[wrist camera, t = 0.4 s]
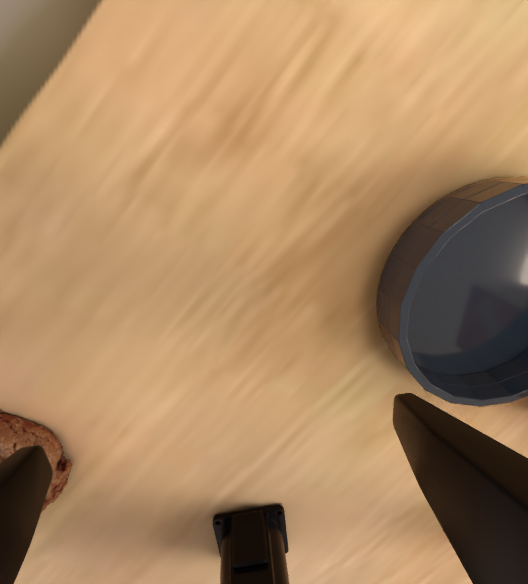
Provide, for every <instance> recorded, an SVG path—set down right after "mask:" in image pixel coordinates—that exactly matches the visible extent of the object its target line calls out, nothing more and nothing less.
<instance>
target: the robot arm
mask: <svg viewBox="0 0 528 584" xmlns="http://www.w3.org/2000/svg"><path fill="white" fill-rule="evenodd" d="M393 425H394V428H395V431H396V433H397V435H398V438H399V440H400V442H401V445H402V447H403V449H404V452H405V454H406V456H407V459H408V461H409V463H410V466H411V468H412V470H413V473H414V475H415V477H416V480H417V482H418V484H419V486H420V488H421V490H422V492H423V494H424V496H425V498H426V499H427V501H428V503H429V505H430V507H431V508H432V510H433V512H434V514H435V516H436V517H437V519H438V521H439V523H440V525H441V527H442V528H443V530H444V532H445V534H446V536H447V537H448V539H449V541H450V543H451V545H452V547H453V548H454V550H455V552H456V554H457V556H458V557H459V559H460V561H461V563H462V565H463V566H464V568H465V570H466V572H467V574H468V576H469V577H470V579H471V581H472V583H473V584H528V458H526V457H524V456H522V455H521V454H519V453H517V452H515V451H514V450H512V449H510V448H508V447H506V446H505V445H503V444H501V443H499V442H498V441H496V440H494V439H492V438H491V437H489V436H487V435H485V434H483V433H482V432H480V431H478V430H476V429H475V428H473V427H471V426H469V425H467V424H466V423H464V422H462V421H460V420H459V419H457V418H455V417H453V416H451V415H450V414H448V413H446V412H444V411H443V410H441V409H439V408H437V407H435V406H434V405H432V404H430V403H428V402H427V401H425V400H423V399H421V398H419V397H418V396H416V395H414V394H412V393H405V394H398V395H396V396H395V398H394V408H393ZM52 476H53V469H52V466H51V464H50V462H49V459H48V457H47V455H46V453H45V450H44V448H43V447H42V446H41V445H32V446H25V447H22V448H20V449H18V450H17V451H16V452H14V453H13V454H11V455H10V456H9V457H7V458H6V459H5V460H3V461H2V462H1V463H0V584H14V582H15V579H16V577H17V575H18V572H19V570H20V568H21V565H22V563H23V561H24V558H25V556H26V553H27V551H28V549H29V546H30V543H31V540H32V538H33V535H34V532H35V529H36V526H37V523H38V520H39V517H40V514H41V511H42V508H43V505H44V502H45V499H46V496H47V493H48V490H49V487H50V484H51V481H52ZM213 527H214V531H215V536H216V540H217V544H218V548H219V553H220V557H221V572H220V584H289V578H288V571H287V563H286V556H285V554H286V553H287V552H288V542H287V533H286V523H285V514H284V508H283V506H281V505H276V506H270V507H263V508H257V509H251V510H245V511H238V512H232V513H226V514H219V515H215V516H214V517H213Z"/></svg>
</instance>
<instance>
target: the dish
mask: <svg viewBox="0 0 528 584" xmlns="http://www.w3.org/2000/svg"><path fill="white" fill-rule="evenodd" d="M377 316H378V322H379V327H380V329H381V332H382V335H383V337H384V339H385V341H386V343H387V345H388V347H389V349H390V350H391V351H392V352H393V353H394V355H395V356H396V357H397V358H398V359H399V361H400V362H401V363H402V364H403V365H404V367H405V368H406V369H407V370H408V371H409V372H410V374H411V375H412V376H413V377H414V378H415V379H416V380H417V382H418V383H419V384H420V385H421V386H422V387H423V389H424V390H426V391H428V392H430V393H432V394H434V395H436V396H438V397H440V398H442V399H444V400H446V401H448V402H450V403H455V404H463V405H471V406H479V407H480V406H488V405H495V404H501V403H508V402H512V401H516V400H519V399H521V398H524V397H526V396H528V177H526V176H520V177H502V178H493V179H488V180H482V181H479V182H476V183H473V184H470V185H467V186H465V187H462V188H460V189H458V190H456V191H454V192H452V193H450V194H448V195H447V196H445V197H444V198H442V199H440V200H439V201H437V202H436V203H434V204H433V205H432V206H431V207H429V208H428V209H427V210H425V211H424V212H423V213H422V214H421V215H420V216H419V217H418V218H417V219H416V220H415V221H414V222H413V223H412V224H411V225H410V226H409V227H408V229H407V230H406V231H405V232H404V233H403V235H402V236H401V237H400V239H399V240H398V242H397V243H396V245H395V246H394V248H393V250H392V252H391V254H390V256H389V258H388V260H387V261H386V264H385V267H384V269H383V272H382V275H381V279H380V283H379V287H378V294H377Z"/></svg>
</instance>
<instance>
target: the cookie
mask: <svg viewBox="0 0 528 584" xmlns="http://www.w3.org/2000/svg"><path fill="white" fill-rule="evenodd" d="M32 445H41V446H42V447H43V448H44V450H45V453H46V455H47V457H48V459H49V462H50V464H51V466H52V469H53V476H52V481H51V484H50V487H49V490H48V493H47V496H46V499H45V502H44V505H43V508H42V511H43V510H45V509H46V507H47V505H49V504H50V503H53V502H54V501H55V500H56V499H57V498H58V496H59V495H60V494H61V493H62V491H63V489H64V488H65V486H66V484H67V479H68V478H67V477H68V475H69V472H70V469H71V466H72V463H71V462H70V460H65V457H64V456H63V454H64V452H62V447H63V446H61V444H60V443H59V442H58V440H57V438H56V436H55V435H53V434H52V432H51V431H50V430H48V429H45V428H44V426H43V425H40V426H39V425H36V424H35V423H33V422H32V421H26V420H24V419H22V418H19V417H16V416H11V415H8V414H2V411H0V463H1V462H2V461H3V460H5V459H6V458H7V457H9V456H10V455H11V454H13V453H14V452H16V451H17V450H18V449H20V448H22V447H25V446H32ZM42 511H41V512H42Z"/></svg>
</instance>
